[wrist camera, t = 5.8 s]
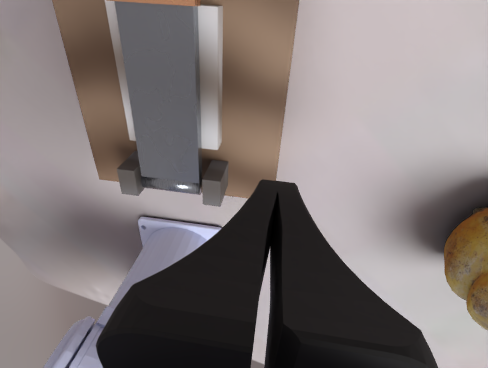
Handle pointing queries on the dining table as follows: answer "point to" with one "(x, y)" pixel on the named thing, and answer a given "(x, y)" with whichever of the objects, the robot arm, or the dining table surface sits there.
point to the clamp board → (211, 90)
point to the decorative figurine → (470, 264)
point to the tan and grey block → (164, 89)
